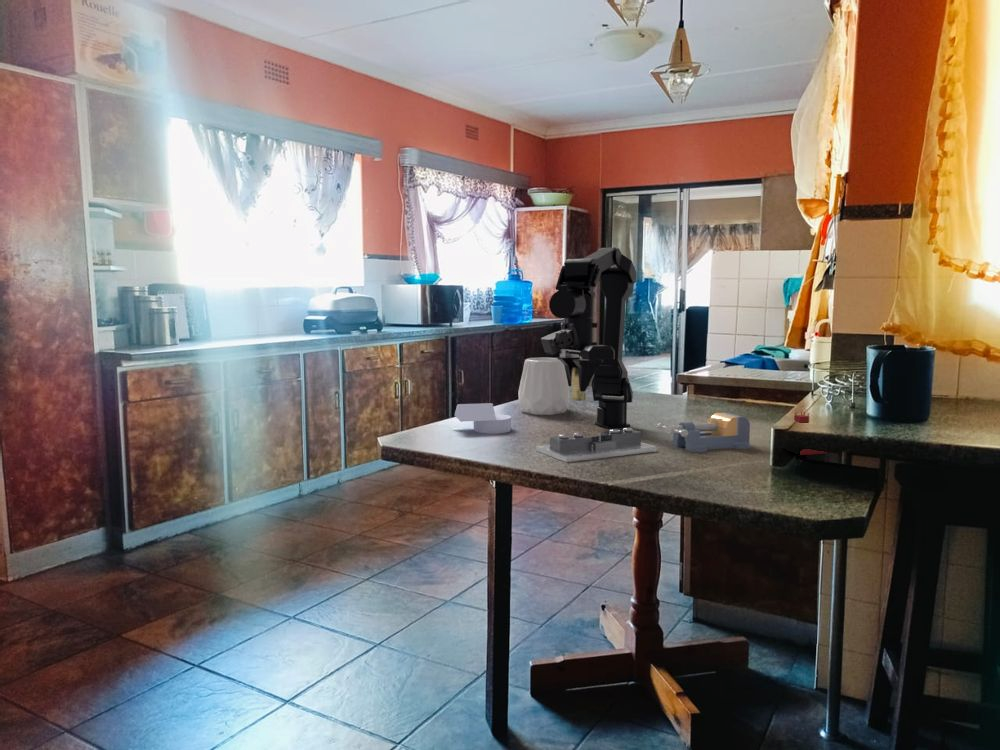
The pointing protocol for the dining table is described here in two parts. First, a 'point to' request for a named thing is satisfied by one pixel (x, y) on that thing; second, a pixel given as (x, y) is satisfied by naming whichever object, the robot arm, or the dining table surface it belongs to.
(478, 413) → the wedge on round base
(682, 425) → the vise
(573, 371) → the pin
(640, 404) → the dining table surface
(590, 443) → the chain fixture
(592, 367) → the robot arm
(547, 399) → the vase
